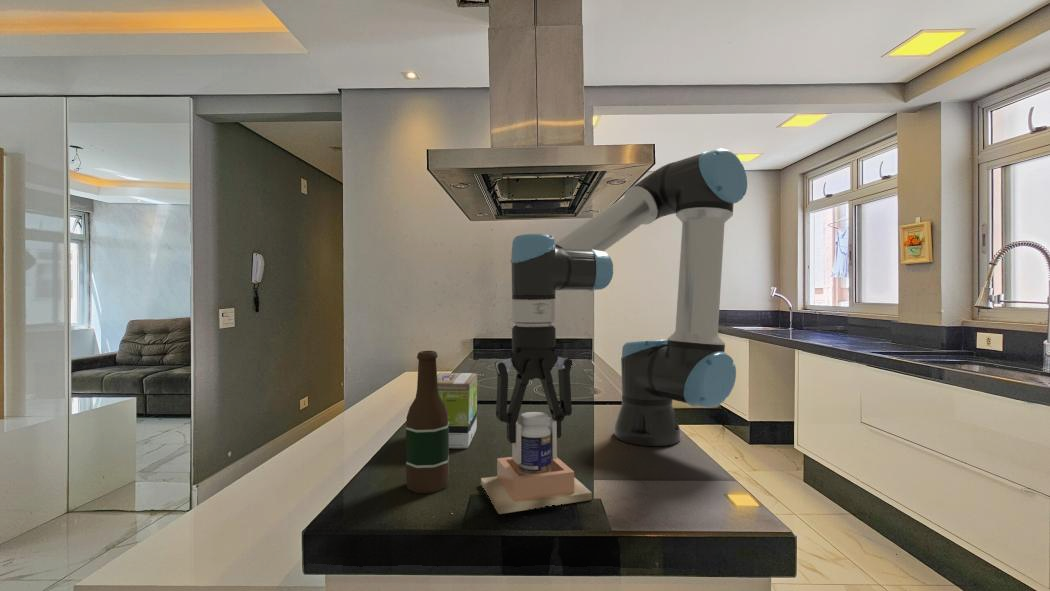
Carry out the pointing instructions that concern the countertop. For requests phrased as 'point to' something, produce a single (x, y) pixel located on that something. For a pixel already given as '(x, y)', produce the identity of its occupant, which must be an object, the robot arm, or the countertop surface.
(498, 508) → the board
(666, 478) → the countertop surface
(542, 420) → the pill bottle
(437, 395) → the beer bottle
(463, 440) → the tea box
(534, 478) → the well
